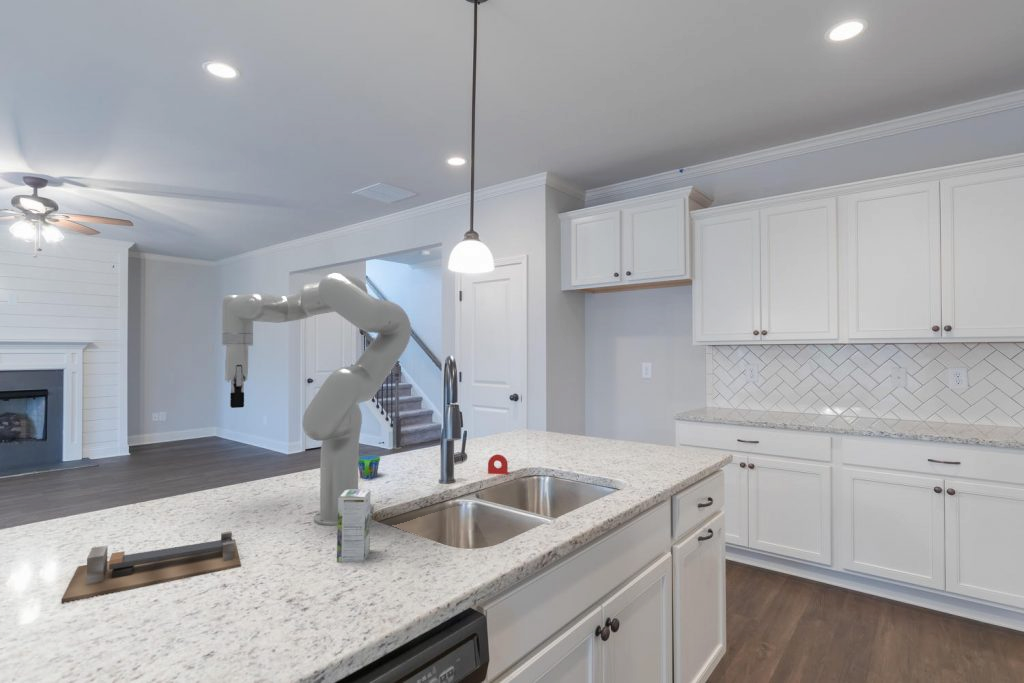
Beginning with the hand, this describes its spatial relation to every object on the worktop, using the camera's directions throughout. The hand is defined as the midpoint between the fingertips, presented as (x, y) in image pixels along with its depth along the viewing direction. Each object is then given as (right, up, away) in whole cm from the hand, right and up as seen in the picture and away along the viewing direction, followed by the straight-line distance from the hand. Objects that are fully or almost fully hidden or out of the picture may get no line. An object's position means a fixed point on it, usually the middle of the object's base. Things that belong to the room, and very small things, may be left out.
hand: (237, 407), depth 141 cm
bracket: (+73, -30, +38) cm, 87 cm away
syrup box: (+41, -29, -31) cm, 59 cm away
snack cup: (+26, -30, +37) cm, 54 cm away
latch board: (+4, -29, -36) cm, 46 cm away
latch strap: (+6, -26, -35) cm, 44 cm away
